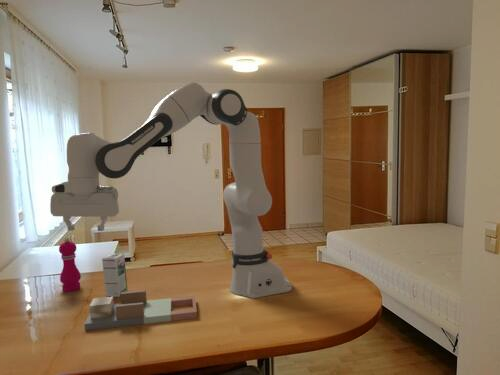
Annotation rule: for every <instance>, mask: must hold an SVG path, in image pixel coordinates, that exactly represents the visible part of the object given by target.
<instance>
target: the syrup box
mask: <svg viewBox="0 0 500 375" xmlns="http://www.w3.org/2000/svg"><path fill="white" fill-rule="evenodd" d="M125 259H126V257H125V254H124V253H120V252H119V253H117V252H116V253H115V252H114V253H109V254H108V255H106V256H104V257H102V258H101V260H102V261H101V262H102V271H103V272H102V273H103V283H104V290H105V291H104V292H105V297H109V296H111V297H112V296H113V298H121V296H120V293H122V292H129V290H128V280H127V271H126V260H125Z"/></svg>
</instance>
